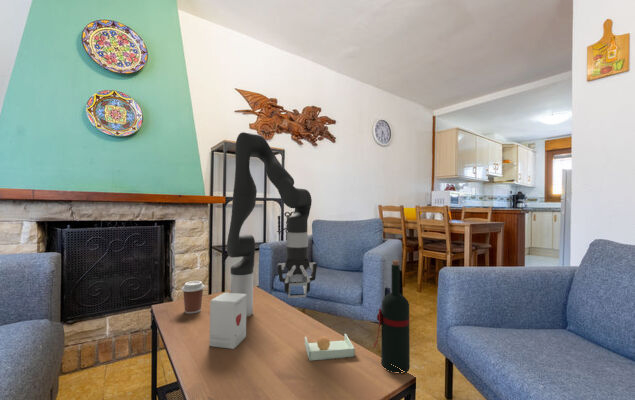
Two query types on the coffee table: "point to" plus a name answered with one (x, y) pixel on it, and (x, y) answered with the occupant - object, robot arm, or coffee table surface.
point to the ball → (323, 343)
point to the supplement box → (227, 320)
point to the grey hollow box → (297, 284)
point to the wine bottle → (394, 327)
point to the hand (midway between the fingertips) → (297, 292)
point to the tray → (330, 350)
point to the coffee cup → (193, 296)
